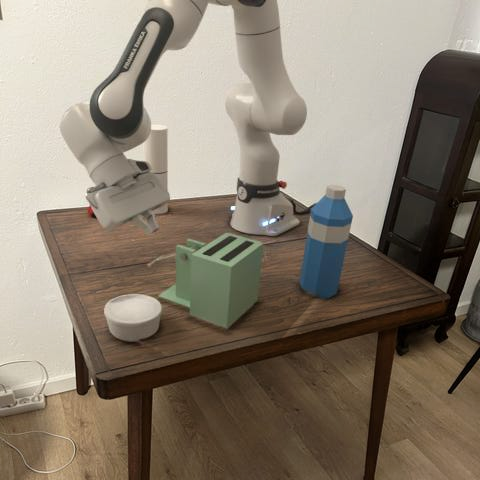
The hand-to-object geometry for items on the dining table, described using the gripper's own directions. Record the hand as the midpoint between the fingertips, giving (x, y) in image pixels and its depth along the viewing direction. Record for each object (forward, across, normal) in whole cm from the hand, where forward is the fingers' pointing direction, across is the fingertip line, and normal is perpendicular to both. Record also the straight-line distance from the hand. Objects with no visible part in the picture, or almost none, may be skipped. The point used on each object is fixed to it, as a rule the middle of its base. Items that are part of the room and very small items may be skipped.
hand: (154, 232), depth 108 cm
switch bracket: (+16, 0, +3) cm, 17 cm away
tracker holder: (-18, +29, +38) cm, 51 cm away
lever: (+8, 0, 0) cm, 8 cm away
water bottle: (+32, +22, -13) cm, 41 cm away
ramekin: (+15, -17, +4) cm, 23 cm away
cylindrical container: (-11, +40, +31) cm, 52 cm away
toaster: (+23, 0, -4) cm, 23 cm away
